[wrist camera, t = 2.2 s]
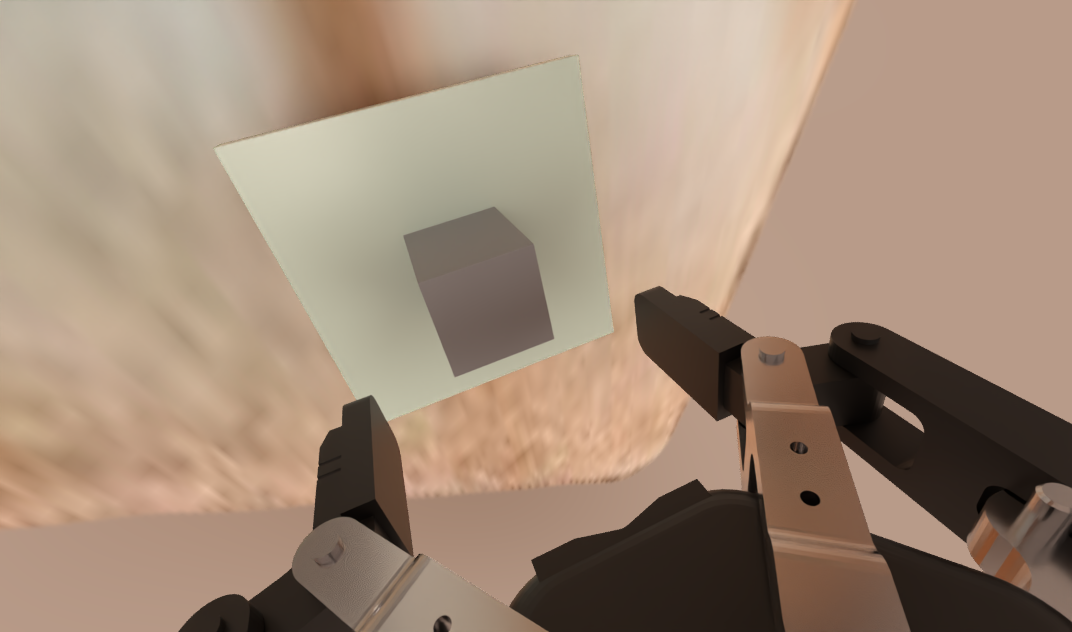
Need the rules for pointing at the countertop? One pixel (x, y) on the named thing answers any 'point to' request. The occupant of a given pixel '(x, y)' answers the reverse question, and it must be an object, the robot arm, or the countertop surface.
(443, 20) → the countertop surface
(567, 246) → the lid
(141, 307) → the countertop surface
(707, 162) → the countertop surface
